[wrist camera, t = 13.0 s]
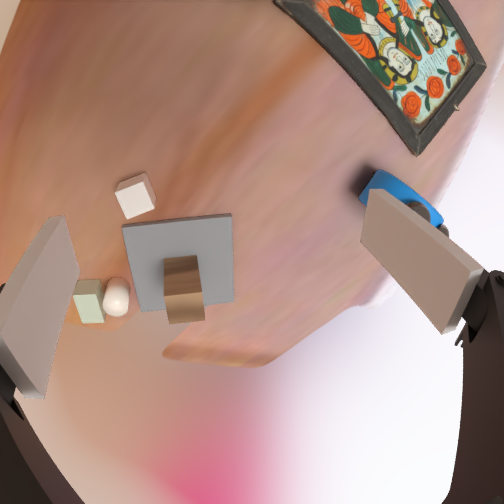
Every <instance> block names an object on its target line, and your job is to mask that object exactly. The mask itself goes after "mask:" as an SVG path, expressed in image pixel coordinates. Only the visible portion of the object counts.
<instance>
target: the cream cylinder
mask: <svg viewBox="0 0 504 504" xmlns="http://www.w3.org/2000/svg"><path fill="white" fill-rule="evenodd" d="M129 295H130V284H129V282H128V281H127V280H126V279H124V278H121V277H114V278H111V279H110V280H109V281H108V283H107V287H106V291H105V296H104V300H103V309H104V310H105V312H106V313H108V314H109V315H111V316H122V315H124V314H125V313H126V312H127V310H128V302H129Z"/></svg>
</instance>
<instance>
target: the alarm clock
mask: <svg viewBox="0 0 504 504" xmlns="http://www.w3.org/2000/svg"><path fill="white" fill-rule="evenodd" d="M373 174H374V176H373V177H372V179H371V180H370V182H369V183H368V185H367V186H366V187H365V189H364V190H363V192H362V193H361V195H360V196H359V200H360V201H361V202H362V203H363V204H364V205H365V206H367V202H368V196H369V190H370V189H384V190H386V191H387V192H388V193H390V194H391V195H393V196H394V197H395V198H397V199H398V200H400V201H401V202H402V203H404V204H405V205H407V206H408V207H409V208H411V209H412V210H413V211H415V212H416V213H417V214H419V215H420V216H421V217H423V218H424V219H425V220H427V221H428V222H429V223H430V224H432V225H433V226H434V227H436V228H437V229H438V230H439V231H441V232H442V233H443V234H444V235H446V236H447V237H448V238H449V231H448V229H447V227H446V226H445V225H442V224H443V221H444V220H443V218H442V216H441V215H440V214H439V213H438V212H437V210H436V209H435V208H434V207H432V206H431V205H430V204H429V203H428V202H427V201H426V200H425V199H424V198H422V197H421V196H420V195H419V194H418V193H416V192H415V191H414V190H413V189H411V188H410V187H409V186H407V185H406V184H405V183H403V182H402V181H400V180H399V179H397V178H396V177H394V176H393V175H391V174H390V173H388V172H386V171H384V170H380V169H379V170H377V172H376V173H373Z"/></svg>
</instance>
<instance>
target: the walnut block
mask: <svg viewBox="0 0 504 504" xmlns="http://www.w3.org/2000/svg"><path fill="white" fill-rule="evenodd" d="M164 300H165V305H166V310H167V315H168V320H169V324H176V323H185V322H194V321H203V320H205V313H204V304H203V295H202V287H201V281H200V274H199V267H198V260H197V255H191V256H181V257H172V258H164Z"/></svg>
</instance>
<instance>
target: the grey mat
mask: <svg viewBox="0 0 504 504" xmlns="http://www.w3.org/2000/svg"><path fill="white" fill-rule="evenodd" d="M122 231H123V236H124V241H125V246H126V251H127V255H128V260H129V264H130V269H131V273H132V277H133V281H134V285H135V289H136V293H137V297H138V301H139V305H140V309H141V312H148V311H158V310H166V305H165V300H164V258H172V257H181V256H191V255H197V260H198V267H199V274H200V281H201V287H202V295H203V304H204V305H213V304H221V303H229V302H234V280H233V237H232V215H231V214H221V215H210V216H199V217H189V218H179V219H170V220H160V221H151V222H143V223H134V224H125V225H123V226H122Z"/></svg>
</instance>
